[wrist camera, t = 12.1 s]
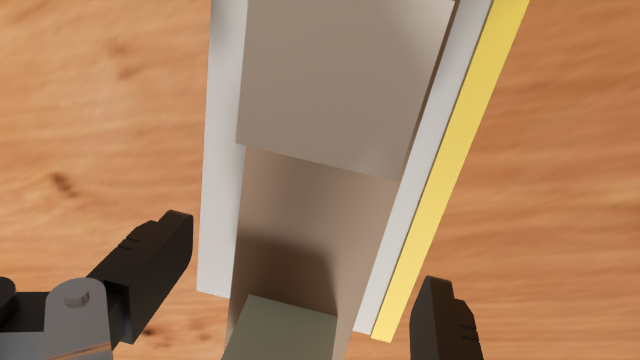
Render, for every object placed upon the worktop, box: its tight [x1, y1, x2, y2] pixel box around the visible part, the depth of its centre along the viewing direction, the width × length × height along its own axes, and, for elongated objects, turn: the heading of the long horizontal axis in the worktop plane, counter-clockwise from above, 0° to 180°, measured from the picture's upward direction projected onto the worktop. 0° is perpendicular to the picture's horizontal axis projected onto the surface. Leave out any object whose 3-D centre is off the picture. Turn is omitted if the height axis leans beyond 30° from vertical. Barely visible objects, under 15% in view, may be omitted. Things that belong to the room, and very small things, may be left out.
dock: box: [197, 0, 530, 343], centre depth 20 cm, size 12×20×3 cm, turn 169°
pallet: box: [224, 0, 461, 360], centre depth 17 cm, size 6×18×4 cm, turn 169°
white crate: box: [235, 0, 455, 181], centre depth 10 cm, size 4×4×4 cm
